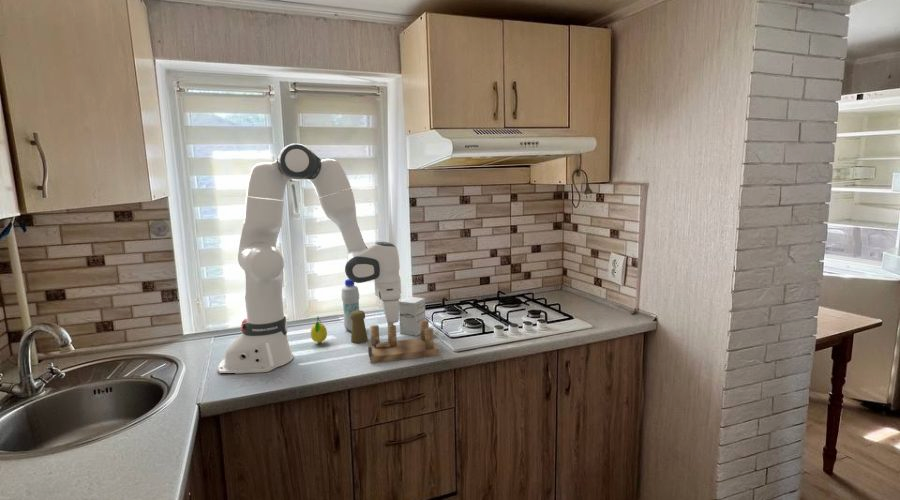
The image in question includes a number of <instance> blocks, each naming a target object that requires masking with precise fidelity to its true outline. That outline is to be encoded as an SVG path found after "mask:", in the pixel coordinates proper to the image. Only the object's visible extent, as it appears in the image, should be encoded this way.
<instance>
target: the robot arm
mask: <svg viewBox="0 0 900 500" xmlns="http://www.w3.org/2000/svg"><path fill="white" fill-rule="evenodd" d="M302 180H306V181H308V182H309V183H311V184H312V186H313V187H314V190H315V193H316V195H317V198H318V202H319V204H320V206H321V208H322V210H323V213H325V216H326V217H327V218H328V219H329V220H330V221H332V222H333V223H334V224H335V225H336V226H337V227H338V229H339V231H340V233H341V236H342V239H343V241H344V244H345V248H346V250H347V260H346V263H345V266H344V267H345V268H344V272H345V275H346V277H347V279H350V280H351V281H353V282H354V283H357V284H361V283H366V282H371V281H374V293H375V296H377V298H378V299H379V300H380V301H381V307H382V311H383V313H384V315H385V319H386V323H387V327H388V326H389V325H394V324H396V323H398V322H399V320H400V317H399V301H400V299H401V294H402V284H401V283H402V282H401V281H402V280H401V276H400V267H401V266H400V265H401V264H400V257H399V250H398V248H397V246H396V245H395V244H394V243H392V242H387V241H376V242H374V243H373V244H372V245H370V246H369V247H367V245H366V244H365V241H364V239H363V235H362V231H361V230H360V227H359V225H358V221H357V209H356V208H357V207H356V202H355V196H354V191H353V189H352V186H351V183H350V181H349V179H348V176H347V174H346V173H345V171H344V168H343V166H342V165H341V163H340V162H339V161H338V160H336V159H333V158H325V159H321V158H320V157H318V156H317V155H316V153H315V152H313V150H311V149H310V148H309V147H307V146H306V145H304V144H301V143H290V144H288V145H285V147H282V149H281V151H280V152H279V154H278V157H277V159H276V160H275V161H274V162H259V163H256V164H255V165H254V166H252V168H251V171H250V173H249V178H248V182H247V187H246V197H245V207H244V218H243V226H242V231H241V235H240V240H239V247H238V252H237V253H238V254H237V262H238V266H240V269H242V270H243V271H244V276H245V297H244V301H245V309H246V317H247V318H244V319H243V320H242V321H241V325H240V326H241V327H240V331H241V332H242V333H240V334H239V336H237V337H236V338H235V339H234V340H232V341H231V342H230V343H229V345H228V346H227V347H226V350H225V353H224V354H225V355H224V358H223V359H222V360H221V361H220V362H219V364H218V366H217V372H218V371H219V372H220V373H235V374H247V373H248V374H250V373H268V372H271V371H273V370H274V369H276V368H278V367H281V366H283V365H286V364H288V363H290V362H291V361H292V360H293V359H294V354H293V351H292V350H291V347H290V343H289V339H288V321H287V318H286V315H285V311H284V309H285V308H284V301H283V300H284V299H283V285H284V284H283V283H284V267H285V261H284V258H283V255H282V253H281V252H280V250H279V249H277V248H276V247H277V241H278V237H279V233H280V231H281V228H282V225H283V217H284V216H283V214H284V213H283V212H284V203H285V194H286V193H285V192H286V187H287V185H288V183H290V182H296V181H302ZM219 372H218V373H219ZM220 373H219V374H220Z"/></svg>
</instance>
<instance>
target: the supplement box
mask: <svg viewBox="0 0 900 500" xmlns="http://www.w3.org/2000/svg"><path fill="white" fill-rule="evenodd" d="M421 320H427V319H426V298H424V297H415V296H406V297H405V298H402V299H401V300H400V299H399V333H400V334H404V335H409V336H415V337H417V336H418V335H421V326H420V321H421Z"/></svg>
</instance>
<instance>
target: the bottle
mask: <svg viewBox="0 0 900 500" xmlns="http://www.w3.org/2000/svg"><path fill="white" fill-rule="evenodd" d="M344 285H345V286H343V287H341V301H342V307H343V309H342V310H343V327H344V329H345V331H346V332H351V333H352V320H351V317H350V315H351V313H352V312H353V311H356V310H360V292H359V288H358V286H357V285H355V282H353V281H351V280H350V279H349V278H347V279H345V281H344Z"/></svg>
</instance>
